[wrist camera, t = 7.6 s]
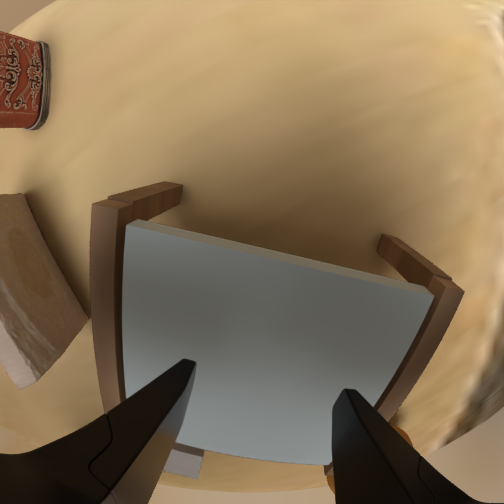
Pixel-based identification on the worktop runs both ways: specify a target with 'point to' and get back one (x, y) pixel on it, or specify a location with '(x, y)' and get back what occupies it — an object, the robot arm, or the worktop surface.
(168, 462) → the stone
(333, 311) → the trapdoor
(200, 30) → the worktop surface
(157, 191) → the stand
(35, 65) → the lighter
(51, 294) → the grey block
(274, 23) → the worktop surface
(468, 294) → the worktop surface
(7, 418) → the worktop surface
